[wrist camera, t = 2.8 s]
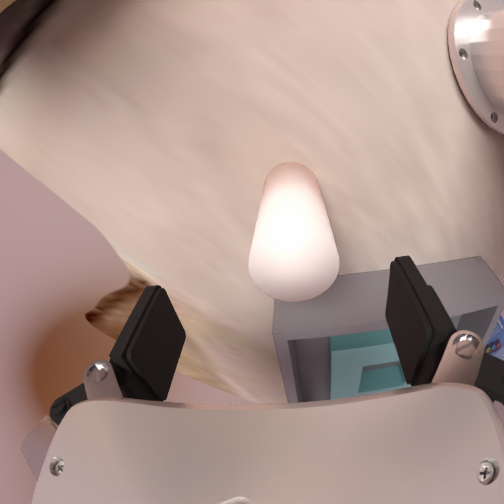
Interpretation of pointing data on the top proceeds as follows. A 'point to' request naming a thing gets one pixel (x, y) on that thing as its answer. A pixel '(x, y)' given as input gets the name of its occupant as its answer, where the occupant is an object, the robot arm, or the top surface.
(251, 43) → the top surface
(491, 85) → the robot arm
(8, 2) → the statue on rock pedestal
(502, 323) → the ink cartridge box
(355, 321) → the storage box
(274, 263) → the plug
